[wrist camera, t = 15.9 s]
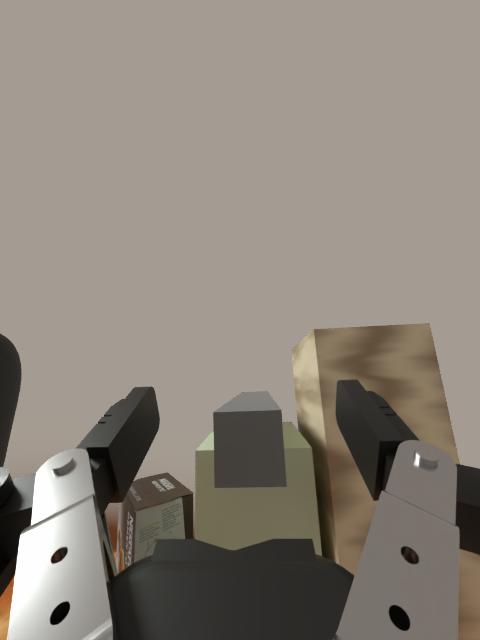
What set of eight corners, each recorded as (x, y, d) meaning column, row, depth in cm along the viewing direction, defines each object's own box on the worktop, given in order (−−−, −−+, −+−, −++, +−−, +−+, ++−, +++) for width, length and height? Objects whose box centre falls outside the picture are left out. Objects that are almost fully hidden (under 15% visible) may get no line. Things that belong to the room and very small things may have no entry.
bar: (214, 487, 14) (213, 412, 15) (242, 419, 40) (241, 392, 40) (286, 486, 14) (281, 409, 15) (269, 418, 39) (267, 391, 40)
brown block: (369, 843, 16) (313, 329, 23) (314, 613, 31) (291, 349, 39) (544, 854, 15) (429, 323, 22) (399, 614, 31) (359, 346, 38)
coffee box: (196, 682, 25) (196, 492, 28) (124, 735, 21) (135, 510, 25) (165, 614, 32) (168, 470, 36) (107, 645, 28) (118, 482, 32)
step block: (195, 806, 17) (195, 450, 22) (223, 619, 31) (219, 424, 36) (346, 815, 17) (311, 447, 22) (307, 620, 30) (291, 421, 35)
